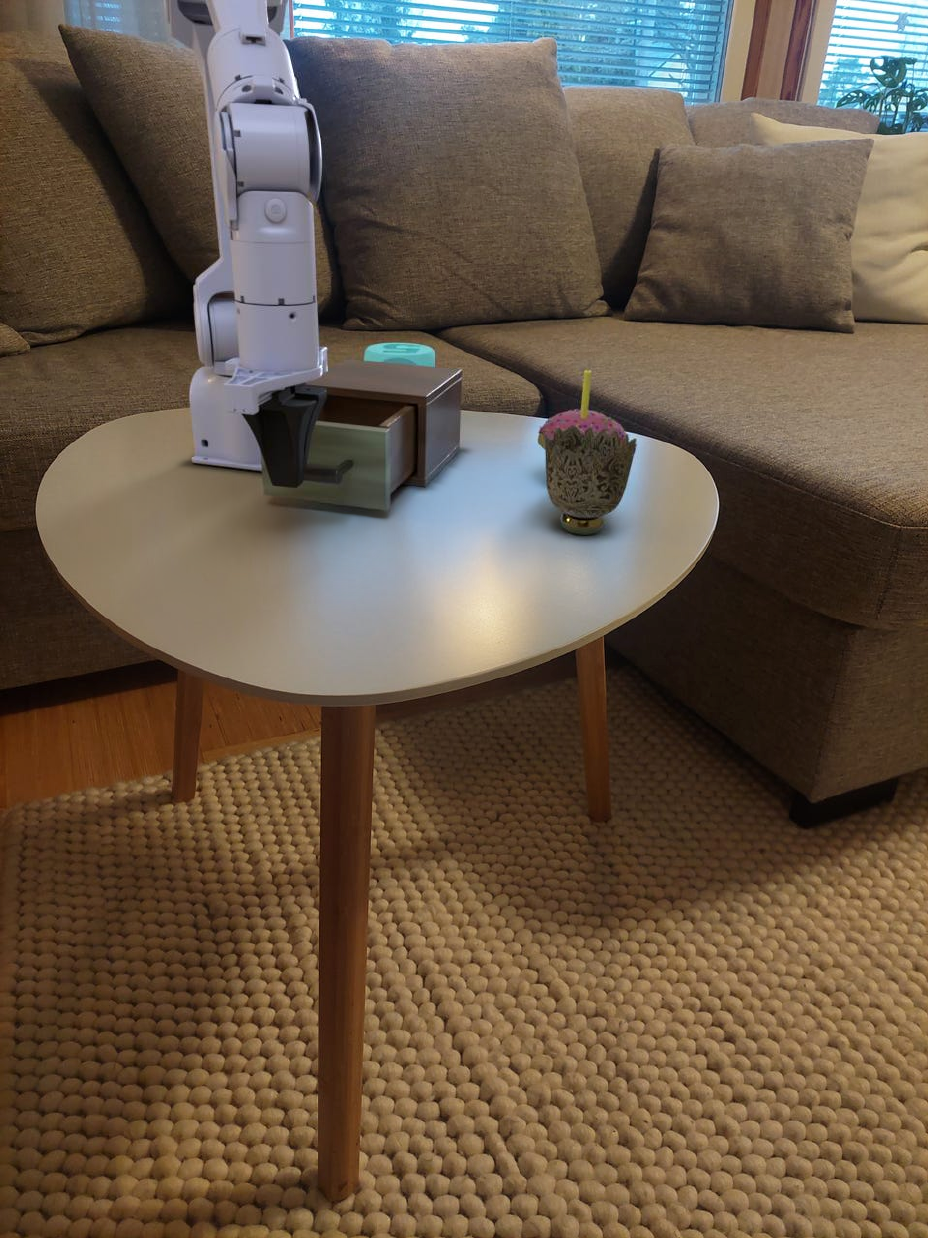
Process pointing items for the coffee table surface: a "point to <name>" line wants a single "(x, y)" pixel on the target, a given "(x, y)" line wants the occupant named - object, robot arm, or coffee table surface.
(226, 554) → the coffee table surface
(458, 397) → the cabinet
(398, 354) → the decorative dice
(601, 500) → the cup
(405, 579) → the coffee table surface
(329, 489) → the drawer
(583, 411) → the cupcake
